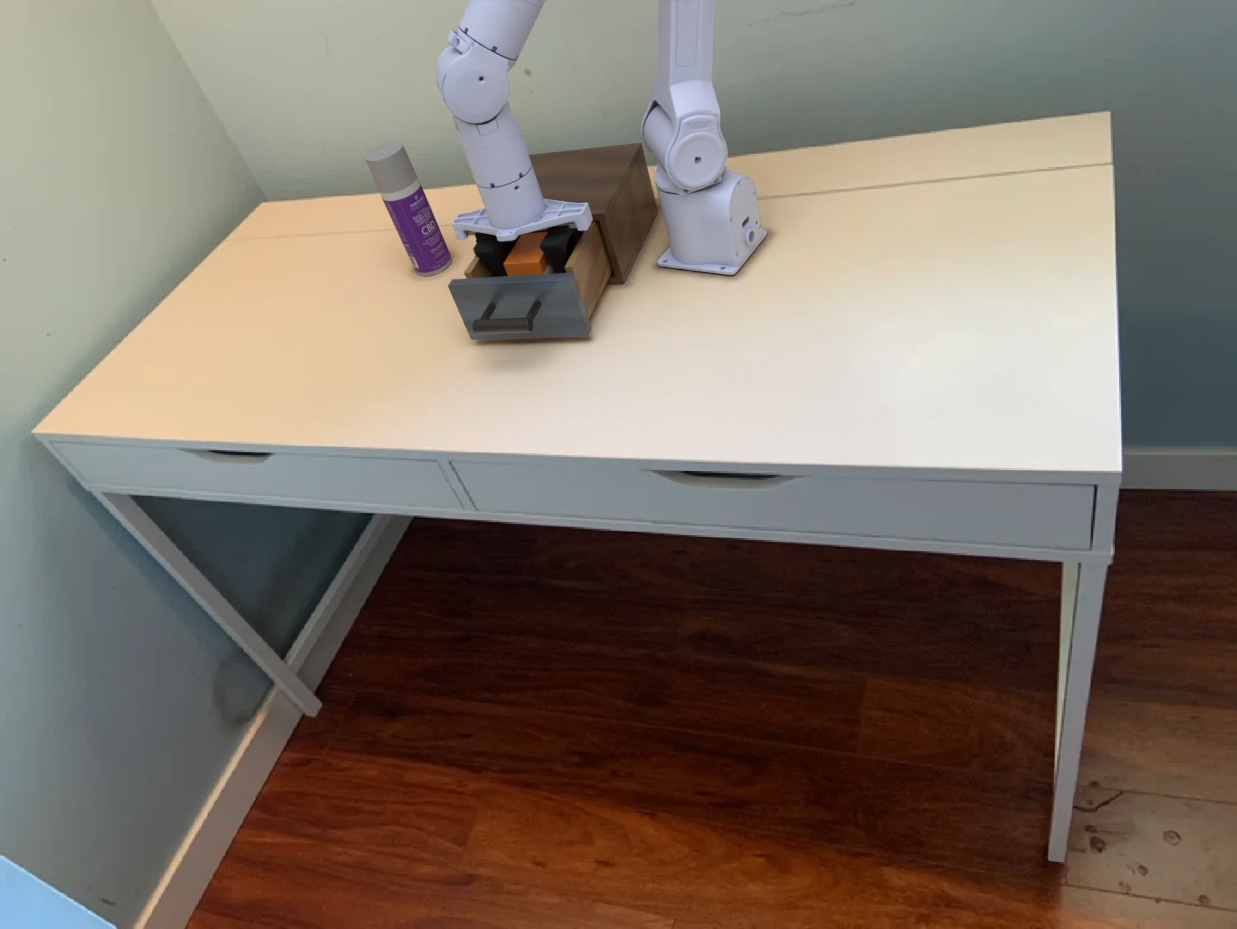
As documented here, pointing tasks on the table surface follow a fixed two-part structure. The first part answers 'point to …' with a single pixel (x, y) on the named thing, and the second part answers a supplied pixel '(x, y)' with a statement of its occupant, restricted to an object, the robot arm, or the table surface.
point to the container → (408, 208)
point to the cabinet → (604, 195)
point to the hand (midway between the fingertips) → (545, 290)
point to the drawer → (535, 295)
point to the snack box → (528, 257)
